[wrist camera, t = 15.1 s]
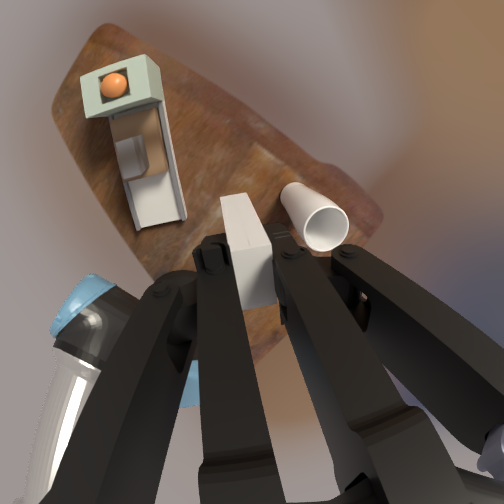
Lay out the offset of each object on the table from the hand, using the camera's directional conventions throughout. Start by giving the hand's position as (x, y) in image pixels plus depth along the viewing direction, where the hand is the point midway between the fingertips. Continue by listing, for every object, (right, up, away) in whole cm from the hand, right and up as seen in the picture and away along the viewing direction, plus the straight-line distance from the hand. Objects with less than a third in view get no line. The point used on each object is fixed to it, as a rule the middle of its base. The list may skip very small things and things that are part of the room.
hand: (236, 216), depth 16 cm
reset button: (-16, +19, +11) cm, 27 cm away
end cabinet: (-18, +23, +19) cm, 35 cm away
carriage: (-16, +15, +22) cm, 31 cm away
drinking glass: (+8, +8, +32) cm, 34 cm away
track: (-16, +12, +26) cm, 33 cm away
